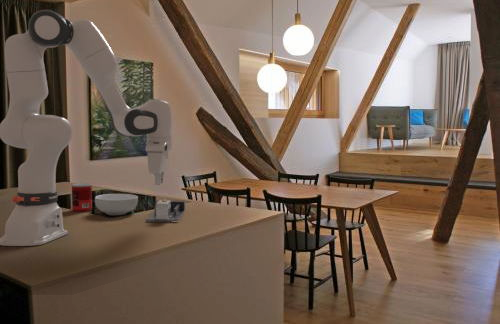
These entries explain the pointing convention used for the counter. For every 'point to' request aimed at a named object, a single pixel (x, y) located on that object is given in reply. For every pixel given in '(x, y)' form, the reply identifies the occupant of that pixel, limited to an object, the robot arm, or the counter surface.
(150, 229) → the counter surface
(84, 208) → the canned food
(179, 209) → the coupler rail
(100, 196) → the cereal bowl
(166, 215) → the lock block
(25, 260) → the counter surface
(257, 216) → the counter surface
